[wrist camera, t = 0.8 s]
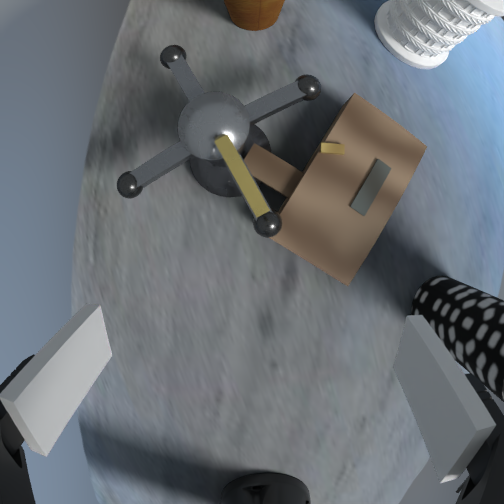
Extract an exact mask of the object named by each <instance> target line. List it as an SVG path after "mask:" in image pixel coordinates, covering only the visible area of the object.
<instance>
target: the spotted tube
mask: <svg viewBox="0 0 504 504" xmlns="http://www.w3.org/2000/svg"><path fill="white" fill-rule="evenodd" d="M411 315H423V317H424V318H425V319H426V321H427V322H428V323H429V325H430V326H431V327H432V329H433V330H434V332H435V333H436V334H437V336H438V337H439V338H440V340H441V341H442V343H443V344H444V345H445V347H446V348H447V350H448V351H449V353H450V354H451V355H452V357H453V358H454V360H455V361H457V362H458V363H459V364H460V365H461V366H463V367H464V368H465V369H466V370H467V371H468V372H470V373H471V374H473V375H474V376H475V377H477V378H478V379H479V380H480V381H481V382H482V383H483V384H484V385H485V386H486V387H487V388H488V389H489V390H491V391H492V392H493V393H494V394H495V395H496V396H497V397H499V398H500V399H501V400H502V401H503V402H504V301H503V300H501V299H499V298H497V297H494V296H492V295H490V294H487V293H485V292H483V291H480V290H478V289H476V288H473V287H471V286H469V285H466V284H464V283H461V282H459V281H457V280H454V279H452V278H449V277H446V276H436V277H433V278H431V279H429V280H427V281H426V282H425V283H424V284H423V285H422V286H421V287H420V288H419V290H418V291H417V293H416V295H415V297H414V300H413V303H412V309H411Z"/></svg>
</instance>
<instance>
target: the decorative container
mask: <svg viewBox="0 0 504 504" xmlns="http://www.w3.org/2000/svg"><path fill="white" fill-rule="evenodd" d="M495 16H497V17H498V16H504V0H389V1H387V2H385V3H383V4H382V5H381V7H380V8H379V9H378V11H377V12H376V15H375V19H374V23H375V30H376V32H377V35H378V37H379V39H380V40H381V42H382V43H383V45H384V46H385V47H386V48H387V49H388V51H389V52H390V53H391V54H392V55H394V56H395V57H396V58H398V59H399V60H400V61H402V62H404V63H406V64H408V65H410V66H412V67H415V68H419V69H432V68H435V67H437V66H439V65H440V64H441V63H443V62H444V61H445V60H446V59H447V57H448V55H449V50H451V48H454V46H455V44H458V43H461V41H464V40H463V39H466V37H467V35H470V34H472V33H474V31H475V32H477V29H479V28H480V26H481V25H483V24H486V23H488V21H491V19H493V18H494V17H495Z"/></svg>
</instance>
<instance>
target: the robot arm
mask: <svg viewBox="0 0 504 504" xmlns="http://www.w3.org/2000/svg"><path fill="white" fill-rule="evenodd" d="M111 357H112V352H111V348H110V344H109V340H108V336H107V332H106V328H105V324H104V319H103V315H102V310H101V305H97V304H88V303H86V304H85V305H84V306H83V307H82V308H81V309H80V310H79V311H78V312H77V313H76V314H75V315H74V316H73V317H72V318H71V319H70V320H69V321H68V322H67V323H66V324H65V325H64V326H63V327H62V328H61V329H60V330H59V331H58V332H57V333H56V334H55V335H54V336H53V337H52V338H51V339H50V340H49V341H48V342H47V343H46V344H45V345H44V347H43V348H42V349H41V350H40V351H39V352H38V353H37V354H36V355H32V356H30V357H28V358H27V359H25V360H24V361H22V362H21V364H20V365H19V366H18V367H17V368H16V370H14V371H13V372H12V373H11V376H9V377H7V378H6V380H5V381H4V382H3V383H2V384H1V385H0V504H35V500H34V496H33V492H32V488H31V483H30V479H29V474H28V469H27V464H26V459H25V453H24V450H23V448H22V446H21V445H22V443H23V442H24V440H25V441H26V443H27V445H28V446H29V448H30V449H31V450H32V451H34V452H36V453H39V454H41V455H43V456H46V457H47V456H48V454H49V452H50V451H51V449H52V447H53V446H54V444H55V443H56V441H57V439H58V438H59V436H60V434H61V433H62V431H63V430H64V428H65V426H66V425H67V423H68V421H69V420H70V418H71V417H72V415H73V414H74V412H75V411H76V409H77V408H78V406H79V405H80V403H81V401H82V400H83V398H84V397H85V395H86V394H87V392H88V391H89V389H90V388H91V386H92V385H93V383H94V382H95V380H96V379H97V377H98V376H99V374H100V373H101V371H102V370H103V368H104V367H105V365H106V364H107V362H108V361H109V359H110V358H111ZM393 368H394V371H395V373H396V375H397V377H398V379H399V382H400V384H401V386H402V389H403V391H404V393H405V395H406V398H407V400H408V402H409V405H410V407H411V410H412V412H413V414H414V417H415V419H416V422H417V424H418V427H419V429H420V431H421V434H422V436H423V439H424V442H425V444H426V447H427V449H428V452H429V455H430V457H431V460H432V462H433V465H434V468H435V471H436V473H437V476H438V479H439V482H440V483H442V482H446V481H450V480H453V479H456V478H459V477H460V475H461V474H462V473H463V472H464V470H465V469H466V468H467V470H468V472H469V476H468V477H467V479H466V480H465V481H464V482H463V483H462V485H461V486H460V487H459V488H458V490H457V491H456V492H457V493H459V492H460V490H461V489H462V490H461V493H460V495H459V497H458V500H457V502H456V504H504V415H503V414H502V412H501V410H500V409H499V407H498V406H497V404H496V403H495V402H494V400H493V399H492V397H491V395H490V394H489V392H487V389H486V388H485V386H484V385H483V383H482V382H481V381H480V380H479V379H478V378H477V377H475V376H474V375H473V374H471V373H470V374H464V373H463V371H462V370H461V369H460V367H459V366H458V364H457V363H456V361H455V360H454V358H453V357H452V355H451V354H450V353H449V351H448V350H447V348H446V347H445V345H444V344H443V343H442V341H441V340H440V338H439V337H438V336H437V334H436V333H435V332H434V330H433V329H432V327H431V326H430V325H429V323H428V322H427V321H426V319H425V318H424V317H423V315H408V316H407V317H406V321H405V325H404V329H403V333H402V337H401V340H400V344H399V348H398V351H397V355H396V358H395V362H394V365H393ZM221 504H310V494H309V490H308V488H307V486H306V485H305V484H304V483H303V482H301V481H300V480H298V479H296V478H294V477H291V476H287V475H283V474H275V473H260V474H253V475H248V476H244V477H241V478H238V479H236V480H234V481H232V482H231V483H229V484H228V485H227V486H226V487H225V488H224V490H223V492H222V495H221Z"/></svg>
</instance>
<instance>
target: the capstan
mask: <svg viewBox="0 0 504 504" xmlns="http://www.w3.org/2000/svg"><path fill="white" fill-rule="evenodd" d="M185 60H186V52H185V50H184V49H183V48H182V47H180V46H178V45H170V46H168V47H166V48H165V49H164V50H163V51H162V53H161V55H160V61H161V63H162V65H163V66H164V67H166V68H168V69H171V71H172V72H173V74H174V76H175V78H176V79H177V81H178V83H179V84H180V86H181V88H182V90H183V91H184V93H185V95H186V97H187V98H188V100H189V103H188V104H187V105H186V106H185V107H184V109H183V110H182V112H181V114H180V117H179V120H178V135H179V138H180V141H179V142H178V143H176V144H174V145H173V146H171V147H169V148H168V149H166V150H165V151H163V152H161V153H160V154H158V155H156V156H155V157H153V158H152V159H150V160H149V161H147V162H145V163H144V164H142V165H141V166H139V167H138V168H136V169H135V170H133V171H128V172H125V173H123V174H122V175H121V176H120V177H119V179H118V181H117V189H118V192H119V193H120V194H121V195H122V196H123V197H125V198H134V197H136V196H138V195H139V194H140V193H141V191H142V189H143V188H144V187H146V186H147V185H149V184H150V183H152V182H153V181H155V180H157V179H158V178H160V177H161V176H163V175H165V174H166V173H168V172H170V171H171V170H173V169H174V168H176V167H178V166H179V165H181V164H183V163H185V162H186V161H188V160H190V165H191V169H192V172H193V174H194V176H195V178H196V180H197V181H198V182H199V183H200V185H201V186H203V187H204V188H205V189H206V190H208V191H209V192H211V193H213V194H216V195H219V196H223V197H238V196H243V198H244V200H245V201H246V203H247V205H248V207H249V209H250V210H251V212H252V214H253V216H254V220H253V225H254V229H255V231H256V232H257V233H258V234H259V235H261V236H263V237H273V236H275V235H277V234H278V233H279V232H280V230H281V228H282V218H281V216H280V214H279V213H278V212H277V211H275V210H273V209H270V207H269V205H268V203H267V201H266V199H265V198H264V196H263V194H262V192H261V190H260V188H259V187H258V186H259V185H260V184H261V183H262V182H260V181H259V180H257V179H255V178H254V177H253V176H252V174H251V172H250V171H249V169H248V167H247V165H246V163H245V162H244V159H245V157H246V156H247V154H248V152H249V151H250V149H251V148H252V146H253V144H254V143H255V144H257V145H258V146H260V147H262V148H263V149H265V150H267V151H269V152H270V153H271V147H270V144H269V141H268V139H267V137H266V136H265V134H264V133H263V131H262V130H261V129H260V128H259V127H257V126H256V125H255V123H257V122H259V121H261V120H263V119H265V118H267V117H269V116H271V115H273V114H275V113H277V112H280V111H282V110H284V109H286V108H288V107H290V106H292V105H294V104H296V103H299V102H301V101H303V100H306V101H310V100H314V99H315V98H317V97H318V96H319V94H320V92H321V84H320V82H319V80H318V79H317V78H316V77H314V76H312V75H302V76H300V77H298V78H297V79H296V81H295V82H293V83H291V84H289V85H287V86H285V87H282V88H280V89H278V90H276V91H274V92H272V93H270V94H267V95H265V96H263V97H261V98H259V99H257V100H255V101H253V102H251V103H249V104H247V105H245V106H244V105H243V104H242V103H241V102H240V101H239V100H238V99H237V98H235V97H234V96H232V95H230V94H227V93H224V92H208V93H204V91H203V89H202V87H201V86H200V84H199V82H198V81H197V79H196V77H195V76H194V74H193V72H192V71H191V69H190V68H189V66H188V64H187V63H186V61H185Z"/></svg>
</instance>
